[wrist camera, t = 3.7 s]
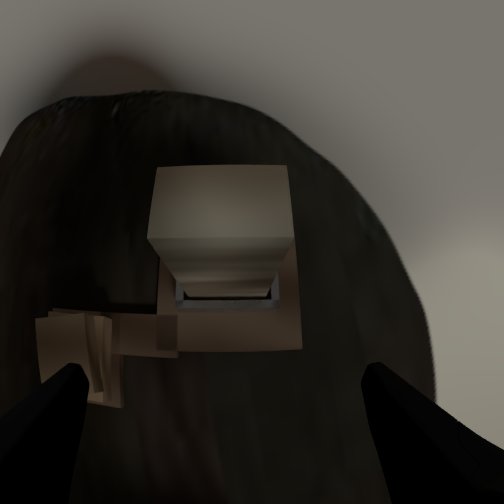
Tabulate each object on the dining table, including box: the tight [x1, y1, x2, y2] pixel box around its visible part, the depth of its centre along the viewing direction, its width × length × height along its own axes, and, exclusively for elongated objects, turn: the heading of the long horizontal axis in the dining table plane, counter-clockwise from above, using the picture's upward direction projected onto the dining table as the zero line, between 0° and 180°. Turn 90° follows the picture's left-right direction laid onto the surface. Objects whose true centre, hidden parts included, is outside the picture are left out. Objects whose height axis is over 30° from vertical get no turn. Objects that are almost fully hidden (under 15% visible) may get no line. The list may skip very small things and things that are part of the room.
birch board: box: [147, 165, 294, 300], centre depth 15 cm, size 3×5×11 cm, turn 91°
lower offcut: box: [48, 311, 112, 403], centre depth 17 cm, size 6×5×2 cm
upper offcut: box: [35, 313, 104, 393], centre depth 16 cm, size 5×4×2 cm
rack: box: [53, 216, 302, 408], centre depth 19 cm, size 14×19×3 cm
